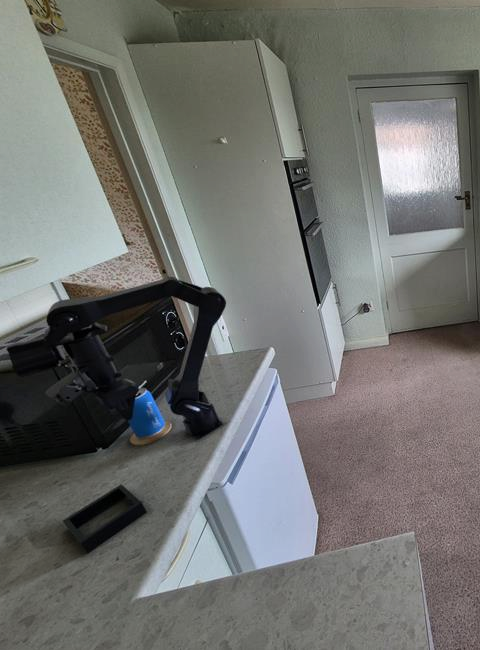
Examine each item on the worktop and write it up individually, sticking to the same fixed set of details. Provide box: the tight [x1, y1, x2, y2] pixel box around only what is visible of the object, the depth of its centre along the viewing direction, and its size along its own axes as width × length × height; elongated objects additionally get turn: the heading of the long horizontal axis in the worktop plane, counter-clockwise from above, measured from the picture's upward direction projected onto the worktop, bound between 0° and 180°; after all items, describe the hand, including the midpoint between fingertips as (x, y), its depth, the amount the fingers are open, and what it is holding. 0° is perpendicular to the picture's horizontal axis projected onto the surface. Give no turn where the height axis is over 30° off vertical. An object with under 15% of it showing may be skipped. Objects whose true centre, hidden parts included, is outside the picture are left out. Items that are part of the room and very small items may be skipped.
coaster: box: [129, 419, 173, 447], centre depth 102 cm, size 9×9×1 cm
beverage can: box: [127, 387, 165, 438], centre depth 99 cm, size 6×6×12 cm
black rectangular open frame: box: [62, 484, 148, 554], centre depth 77 cm, size 10×10×3 cm
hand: (121, 414), depth 89 cm, fingers open, 9 cm apart
